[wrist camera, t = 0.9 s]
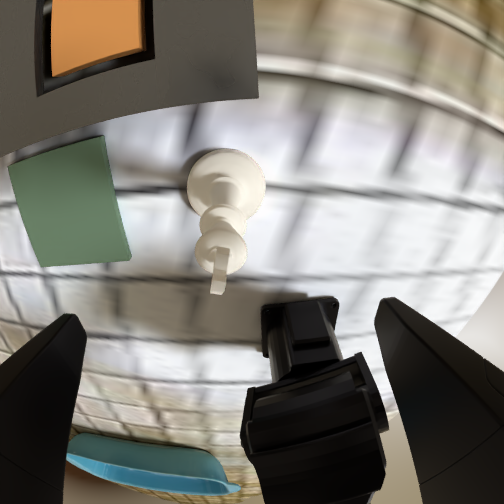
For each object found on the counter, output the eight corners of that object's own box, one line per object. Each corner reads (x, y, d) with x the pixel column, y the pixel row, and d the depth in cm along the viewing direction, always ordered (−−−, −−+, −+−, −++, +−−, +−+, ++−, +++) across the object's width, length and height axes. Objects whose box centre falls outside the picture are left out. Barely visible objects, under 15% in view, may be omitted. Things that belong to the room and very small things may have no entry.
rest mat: (131, 256, 20) (129, 260, 19) (44, 263, 20) (40, 267, 19) (103, 135, 15) (100, 136, 15) (12, 164, 15) (7, 166, 15)
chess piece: (273, 156, 17) (314, 231, 8) (256, 227, 19) (273, 343, 11) (192, 143, 16) (145, 205, 8) (183, 216, 19) (146, 327, 10)
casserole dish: (96, 455, 49) (92, 478, 43) (49, 416, 38) (41, 445, 32) (241, 470, 51) (243, 497, 45) (235, 440, 39) (237, 478, 33)
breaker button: (146, 50, 11) (139, 47, 10) (63, 76, 11) (52, 76, 10) (144, -27, 8) (138, -34, 7) (63, 3, 8) (52, -1, 7)
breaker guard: (253, 97, 15) (258, 98, 11) (30, 143, 15) (-5, 159, 11) (242, -63, 9) (245, -93, 5) (23, 3, 8) (-9, -2, 5)
